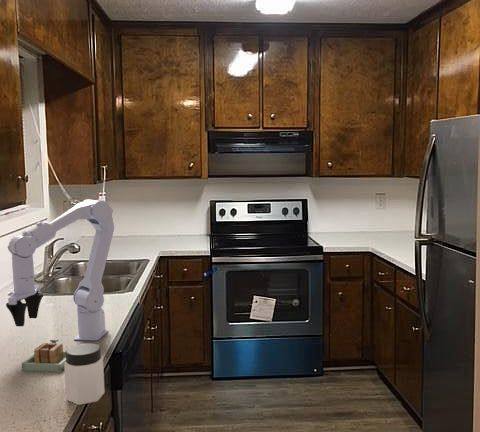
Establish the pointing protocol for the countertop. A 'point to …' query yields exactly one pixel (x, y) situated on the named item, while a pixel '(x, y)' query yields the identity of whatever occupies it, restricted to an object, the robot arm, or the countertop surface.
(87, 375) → the jar
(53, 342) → the lever
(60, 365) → the tray
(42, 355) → the wooden blocks
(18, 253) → the robot arm
